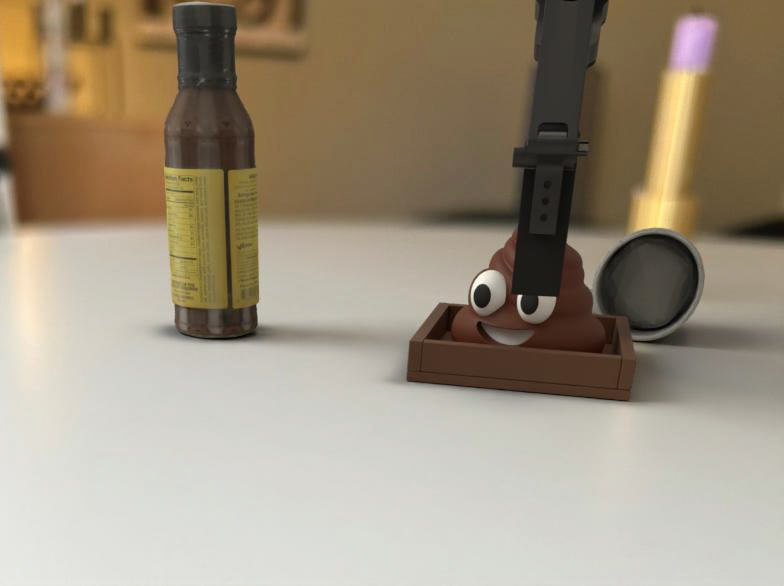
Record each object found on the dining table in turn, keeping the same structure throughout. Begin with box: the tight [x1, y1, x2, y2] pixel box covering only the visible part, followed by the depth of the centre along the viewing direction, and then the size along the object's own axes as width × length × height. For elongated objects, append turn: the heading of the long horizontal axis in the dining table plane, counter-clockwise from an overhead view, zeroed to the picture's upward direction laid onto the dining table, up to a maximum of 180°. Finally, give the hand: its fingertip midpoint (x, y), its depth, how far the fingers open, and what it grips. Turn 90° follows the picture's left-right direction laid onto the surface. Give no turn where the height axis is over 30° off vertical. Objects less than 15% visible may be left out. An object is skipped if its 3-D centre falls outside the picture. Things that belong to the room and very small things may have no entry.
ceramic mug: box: [589, 227, 706, 342], centre depth 75 cm, size 11×8×8 cm
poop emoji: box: [451, 225, 606, 354], centre depth 63 cm, size 10×8×9 cm
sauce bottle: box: [163, 1, 260, 339], centre depth 67 cm, size 6×6×20 cm
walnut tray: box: [405, 302, 638, 401], centre depth 65 cm, size 13×14×2 cm
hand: (539, 278), depth 63 cm, fingers open, 13 cm apart
